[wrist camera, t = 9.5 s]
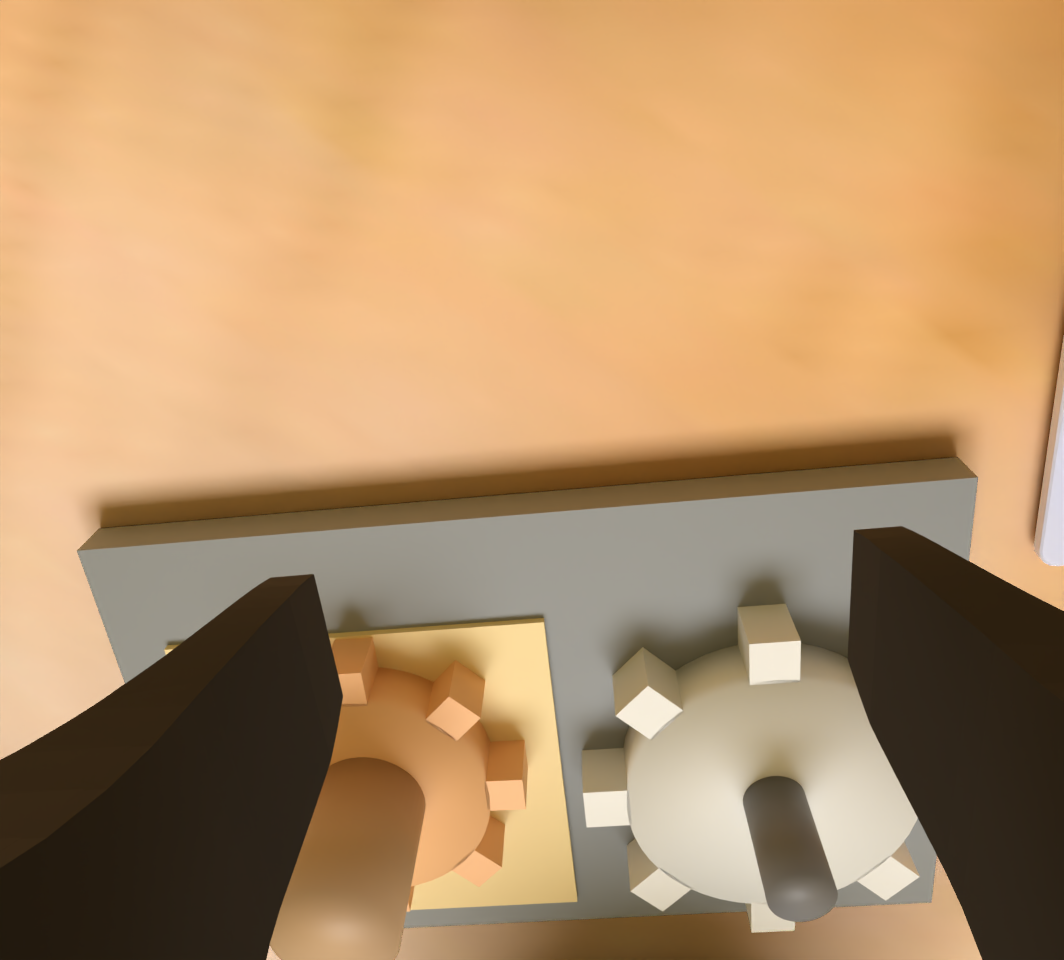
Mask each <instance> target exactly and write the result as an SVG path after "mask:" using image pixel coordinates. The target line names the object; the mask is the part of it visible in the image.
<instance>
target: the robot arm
mask: <svg viewBox="0 0 1064 960" xmlns="http://www.w3.org/2000/svg"><path fill="white" fill-rule="evenodd" d="M1034 551H1035V553H1036V554H1037V556H1038V557H1039V558H1040V559H1041V560H1042V561H1043V562H1044V563H1046V564H1048V565H1051V566H1064V337H1063V344H1062V351H1061V358H1060V365H1059V372H1058V379H1057V386H1056V393H1055V400H1054V407H1053V414H1052V421H1051V428H1050V435H1049V442H1048V449H1047V456H1046V463H1045V470H1044V477H1043V484H1042V491H1041V498H1040V505H1039V512H1038V519H1037V526H1036V533H1035V540H1034ZM848 662H849V665H850V668H851V671H852V674H853V677H854V681H855V684H856V687H857V690H858V693H859V696H860V698H861V701H862V704H863V707H864V709H865V712H866V715H867V718H868V720H869V723H870V725H871V727H872V729H873V732H874V734H875V736H876V738H877V740H878V742H879V744H880V746H881V748H882V750H883V751H884V753H885V755H886V757H887V759H888V761H889V763H890V765H891V767H892V769H893V771H894V773H895V775H896V777H897V779H898V781H899V783H900V785H901V787H902V789H903V791H904V792H905V794H906V796H907V798H908V800H909V802H910V804H911V806H912V808H913V810H914V812H915V814H916V816H917V818H918V819H919V821H920V823H921V825H922V827H923V829H924V831H925V833H926V835H927V837H928V839H929V841H930V843H931V845H932V846H933V848H934V850H935V852H936V854H937V856H938V858H939V860H940V862H941V864H942V866H943V868H944V870H945V872H946V874H947V876H948V878H949V880H950V882H951V885H952V887H953V889H954V891H955V893H956V895H957V898H958V900H959V902H960V904H961V906H962V909H963V911H964V914H965V916H966V919H967V921H968V924H969V926H970V929H971V932H972V934H973V937H974V939H975V942H976V944H977V947H978V949H979V952H980V955H981V957H982V960H1064V611H1062V610H1060V609H1058V608H1056V607H1054V606H1052V605H1050V604H1048V603H1046V602H1044V601H1042V600H1040V599H1038V598H1036V597H1034V596H1032V595H1030V594H1029V593H1027V592H1025V591H1023V590H1021V589H1019V588H1017V587H1015V586H1013V585H1012V584H1010V583H1008V582H1006V581H1004V580H1002V579H1000V578H999V577H997V576H995V575H993V574H991V573H989V572H988V571H986V570H984V569H982V568H980V567H978V566H977V565H975V564H973V563H971V562H970V561H968V560H966V559H964V558H962V557H961V556H959V555H957V554H955V553H953V552H952V551H950V550H948V549H946V548H944V547H943V546H941V545H939V544H937V543H935V542H933V541H931V540H930V539H928V538H926V537H924V536H922V535H920V534H918V533H916V532H914V531H912V530H910V529H907V528H905V527H903V526H896V527H883V528H871V529H859V530H854V534H853V555H852V575H851V596H850V617H849V638H848ZM342 700H343V693H342V689H341V684H340V680H339V676H338V672H337V668H336V664H335V659H334V655H333V651H332V647H331V643H330V639H329V635H328V630H327V626H326V622H325V618H324V614H323V610H322V605H321V601H320V597H319V593H318V589H317V585H316V581H315V576H314V574H307V575H295V576H283V577H271V578H269V579H267V580H266V581H264V582H262V583H261V584H259V585H258V586H256V587H255V588H253V589H252V590H250V591H249V592H248V593H246V594H245V595H244V596H242V597H241V598H240V599H238V600H237V601H236V602H234V603H233V604H232V605H230V606H229V607H228V608H226V609H225V610H224V611H223V612H221V613H220V614H219V615H217V616H216V617H215V618H214V619H212V620H211V621H210V622H208V623H207V624H206V625H204V626H203V627H202V628H201V629H199V630H198V631H197V632H195V633H194V634H193V635H191V636H190V637H189V638H187V639H186V640H185V641H184V642H182V643H181V644H180V645H178V646H177V647H176V648H174V649H173V650H172V651H170V652H169V653H168V654H166V655H165V656H164V657H162V658H161V659H160V660H158V661H157V662H155V663H154V664H152V665H151V666H150V667H148V668H147V669H145V670H144V671H143V672H141V673H140V674H138V675H137V676H135V677H134V678H133V679H131V680H130V681H128V682H127V683H126V684H124V685H123V686H121V687H120V688H118V689H117V690H116V691H114V692H113V693H111V694H110V695H108V696H107V697H106V698H104V699H103V700H101V701H100V702H98V703H97V704H95V705H94V706H92V707H90V708H89V709H87V710H86V711H84V712H83V713H81V714H79V715H78V716H76V717H75V718H73V719H71V720H70V721H68V722H67V723H65V724H63V725H62V726H60V727H58V728H56V729H55V730H53V731H51V732H50V733H48V734H46V735H44V736H43V737H41V738H39V739H38V740H36V741H34V742H33V743H31V744H29V745H27V746H26V747H24V748H22V749H20V750H18V751H17V752H15V753H13V754H11V755H9V756H7V757H5V758H3V759H1V760H0V960H266V958H267V953H268V949H269V945H270V941H271V938H272V935H273V931H274V928H275V925H276V921H277V918H278V915H279V911H280V908H281V905H282V902H283V899H284V896H285V894H286V891H287V888H288V885H289V882H290V879H291V876H292V873H293V871H294V868H295V865H296V862H297V859H298V856H299V853H300V850H301V848H302V845H303V842H304V839H305V836H306V833H307V830H308V827H309V825H310V822H311V819H312V816H313V813H314V810H315V807H316V804H317V801H318V798H319V795H320V792H321V789H322V786H323V783H324V781H325V778H326V774H327V771H328V768H329V765H330V762H331V758H332V753H333V748H334V744H335V739H336V734H337V729H338V723H339V717H340V711H341V706H342Z"/></svg>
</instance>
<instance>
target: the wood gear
mask: <svg viewBox="0 0 1064 960" xmlns="http://www.w3.org/2000/svg"><path fill="white" fill-rule="evenodd" d="M332 651H333V655H334V659H335V664H336V668H337V672H338V676H339V680H340V684H341V689H342V693H343V700H342V706H341V711H340V717H339V723H338V729H337V734H336V739H335V744H334V748H333V753H332V758H331V762H330V765H329V768H328V771H327V774H326V778H325V781H324V783H323V786H322V789H321V792H320V795H319V798H318V801H317V804H316V807H315V810H314V813H313V816H312V819H311V822H310V825H309V827H308V830H307V833H306V836H305V839H304V842H303V845H302V848H301V850H300V853H299V856H298V859H297V862H296V865H295V868H294V871H293V873H292V876H291V879H290V882H289V885H288V888H287V891H286V894H285V896H284V899H283V902H282V905H281V908H280V911H279V915H278V918H277V921H276V925H275V928H274V931H273V935H272V938H271V941H270V946H271V948H272V950H273V951H274V952H275V954H276V955H277V956H278V957H279V958H280V959H281V960H394V959H395V958H396V956H397V954H398V952H399V948H400V944H401V939H402V933H403V928H404V922H405V917H406V912H410V909H411V904H412V898H413V893H414V887H415V885H419V884H422V883H426V882H429V881H432V880H434V879H436V878H439V877H441V876H443V875H445V874H447V873H448V872H450V871H454V872H455V873H457V874H459V875H460V876H462V877H463V878H465V879H467V880H468V881H470V882H472V883H473V884H475V885H476V886H478V887H480V886H481V885H482V884H483V883H485V882H486V881H487V880H488V879H489V878H490V877H491V876H493V875H494V874H495V873H496V872H497V871H498V870H500V869H501V868H502V861H503V847H504V834H505V825H504V824H503V823H501V822H500V821H498V820H497V819H495V818H493V817H492V816H490V811H497V810H519V809H526V797H527V777H528V765H527V756H526V748H525V740H515V741H495V742H490V740H489V738H488V735H487V733H486V731H485V729H484V727H483V726H482V724H481V722H480V721H479V719H480V718H481V712H482V704H483V696H484V688H485V680H484V679H483V678H481V677H480V676H478V675H477V674H475V673H474V672H472V671H471V670H470V669H468V668H467V667H465V666H464V665H462V664H461V663H459V662H458V661H456V660H455V661H454V662H453V663H452V664H451V665H450V666H449V667H448V668H447V669H446V670H445V671H444V672H443V673H442V674H441V675H440V676H439V677H438V678H437V679H436V680H435V681H434V682H432V681H430V680H428V679H425V678H423V677H421V676H418V675H415V674H411V673H408V672H405V671H400V670H395V669H390V668H381V667H378V662H377V657H376V652H375V646H374V641H373V637H370V638H352V639H335V640H334V642H333V645H332Z"/></svg>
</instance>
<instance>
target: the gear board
mask: <svg viewBox="0 0 1064 960" xmlns="http://www.w3.org/2000/svg"><path fill="white" fill-rule="evenodd" d="M977 482H978V477H977V476H976V475H975V474H974V473H973V472H972V471H971V470H970V469H969V468H968V467H967V466H966V465H965V464H964V463H963V462H962V461H961V460H960V459H959V458H958V457H953V458H941V459H929V460H917V461H905V462H893V463H881V464H869V465H857V466H844V467H832V468H820V469H808V470H796V471H784V472H772V473H760V474H748V475H736V476H724V477H712V478H700V479H688V480H676V481H664V482H652V483H640V484H628V485H616V486H604V487H592V488H580V489H568V490H556V491H544V492H532V493H520V494H508V495H496V496H484V497H472V498H460V499H448V500H436V501H424V502H412V503H400V504H388V505H376V506H364V507H352V508H340V509H328V510H315V511H303V512H291V513H279V514H267V515H255V516H243V517H231V518H219V519H207V520H195V521H183V522H171V523H159V524H147V525H135V526H123V527H111V528H99V529H98V530H97V531H96V532H95V533H94V534H93V535H92V536H91V537H90V538H89V539H88V540H87V541H86V542H85V543H84V544H83V545H82V546H81V547H80V548H79V549H78V550H77V552H78V555H79V558H80V561H81V563H82V566H83V569H84V572H85V574H86V577H87V580H88V583H89V585H90V588H91V591H92V594H93V596H94V599H95V602H96V605H97V607H98V610H99V613H100V616H101V618H102V621H103V624H104V627H105V630H106V632H107V635H108V638H109V641H110V643H111V646H112V649H113V652H114V654H115V657H116V660H117V663H118V665H119V668H120V671H121V674H122V676H123V679H124V682H125V684H126V683H127V682H128V681H130V680H131V679H133V678H134V677H135V676H137V675H138V674H140V673H141V672H143V671H144V670H145V669H147V668H148V667H150V666H151V665H152V664H154V663H155V662H157V661H158V660H160V659H161V658H162V657H164V656H165V655H166V654H168V653H169V652H170V651H172V650H173V649H174V648H176V647H177V646H178V645H180V644H181V643H182V642H184V641H185V640H186V639H187V638H189V637H190V636H191V635H193V634H194V633H195V632H197V631H198V630H199V629H201V628H202V627H203V626H204V625H206V624H207V623H208V622H210V621H211V620H212V619H214V618H215V617H216V616H217V615H219V614H220V613H221V612H223V611H224V610H225V609H226V608H228V607H229V606H230V605H232V604H233V603H234V602H236V601H237V600H238V599H240V598H241V597H242V596H244V595H245V594H246V593H248V592H249V591H250V590H252V589H253V588H255V587H256V586H258V585H259V584H261V583H262V582H264V581H266V580H267V579H269V578H271V577H283V576H295V575H307V574H314V576H315V581H316V585H317V589H318V593H319V597H320V601H321V605H322V610H323V614H324V618H325V622H326V626H327V630H328V635H329V639H330V643H331V647H332V645H333V642H334V640H335V639H352V638H370V637H373V641H374V646H375V652H376V657H377V662H378V667H381V668H390V669H395V670H400V671H405V672H408V673H411V674H415V675H418V676H421V677H423V678H425V679H428V680H430V681H432V682H434V681H435V680H436V679H437V678H438V677H439V676H440V675H441V674H442V673H443V672H444V671H445V670H446V669H447V668H448V667H449V666H450V665H451V664H452V663H453V662H454V661H455V660H456V661H458V662H459V663H461V664H462V665H464V666H465V667H467V668H468V669H470V670H471V671H472V672H474V673H475V674H477V675H478V676H480V677H481V678H483V679H484V680H485V688H484V696H483V704H482V712H481V718H480V719H479V721H480V722H481V724H482V726H483V727H484V729H485V731H486V733H487V735H488V738H489V740H490V742H495V741H515V740H525V748H526V756H527V765H528V777H527V797H526V809H519V810H497V811H490V816H492V817H493V818H495V819H497V820H498V821H500V822H501V823H503V824H504V825H505V834H504V847H503V861H502V868H501V869H500V870H498V871H497V872H496V873H495V874H494V875H493V876H491V877H490V878H489V879H488V880H487V881H486V882H485V883H483V884H482V885H481V886H480V887H478V886H476V885H475V884H473V883H472V882H470V881H468V880H467V879H465V878H463V877H462V876H460V875H459V874H457V873H455V872H454V871H450V872H448V873H447V874H445V875H443V876H441V877H439V878H436V879H434V880H432V881H429V882H426V883H422V884H419V885H415V887H414V893H413V898H412V904H411V909H410V912H406V917H405V922H404V928H413V927H434V926H455V925H475V924H496V923H517V922H538V921H558V920H579V919H600V918H620V917H641V916H662V915H682V914H703V913H724V912H745V911H747V914H748V919H749V923H750V928H751V933H755V932H777V931H795V922H805V921H811V920H814V919H817V918H820V917H822V916H824V915H825V914H827V913H828V912H829V911H830V910H831V909H832V908H833V907H848V906H869V905H889V904H910V903H931V902H932V893H933V884H934V874H935V865H936V856H937V854H936V852H935V850H934V848H933V846H932V845H931V843H930V841H929V839H928V837H927V835H926V833H925V831H924V829H923V827H922V825H921V823H920V821H919V819H918V818H917V816H916V814H915V812H914V810H913V808H912V806H911V804H910V802H909V800H908V798H907V796H906V794H905V792H904V791H903V789H902V787H901V785H900V783H899V781H898V779H897V777H896V775H895V773H894V771H893V769H892V767H891V765H890V763H889V761H888V759H887V757H886V755H885V753H884V751H883V750H882V748H881V746H880V744H879V742H878V740H877V738H876V736H875V734H874V732H873V729H872V727H871V725H870V723H869V720H868V718H867V715H866V712H865V709H864V707H863V704H862V701H861V698H860V696H859V693H858V690H857V687H856V684H855V681H854V677H853V674H852V671H851V668H850V665H849V662H848V638H849V617H850V596H851V575H852V555H853V534H854V530H859V529H871V528H883V527H896V526H903V527H905V528H907V529H910V530H912V531H914V532H916V533H918V534H920V535H922V536H924V537H926V538H928V539H930V540H931V541H933V542H935V543H937V544H939V545H941V546H943V547H944V548H946V549H948V550H950V551H952V552H953V553H955V554H957V555H959V556H961V557H962V558H964V559H966V560H968V561H969V555H970V546H971V537H972V527H973V518H974V509H975V500H976V491H977Z"/></svg>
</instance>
